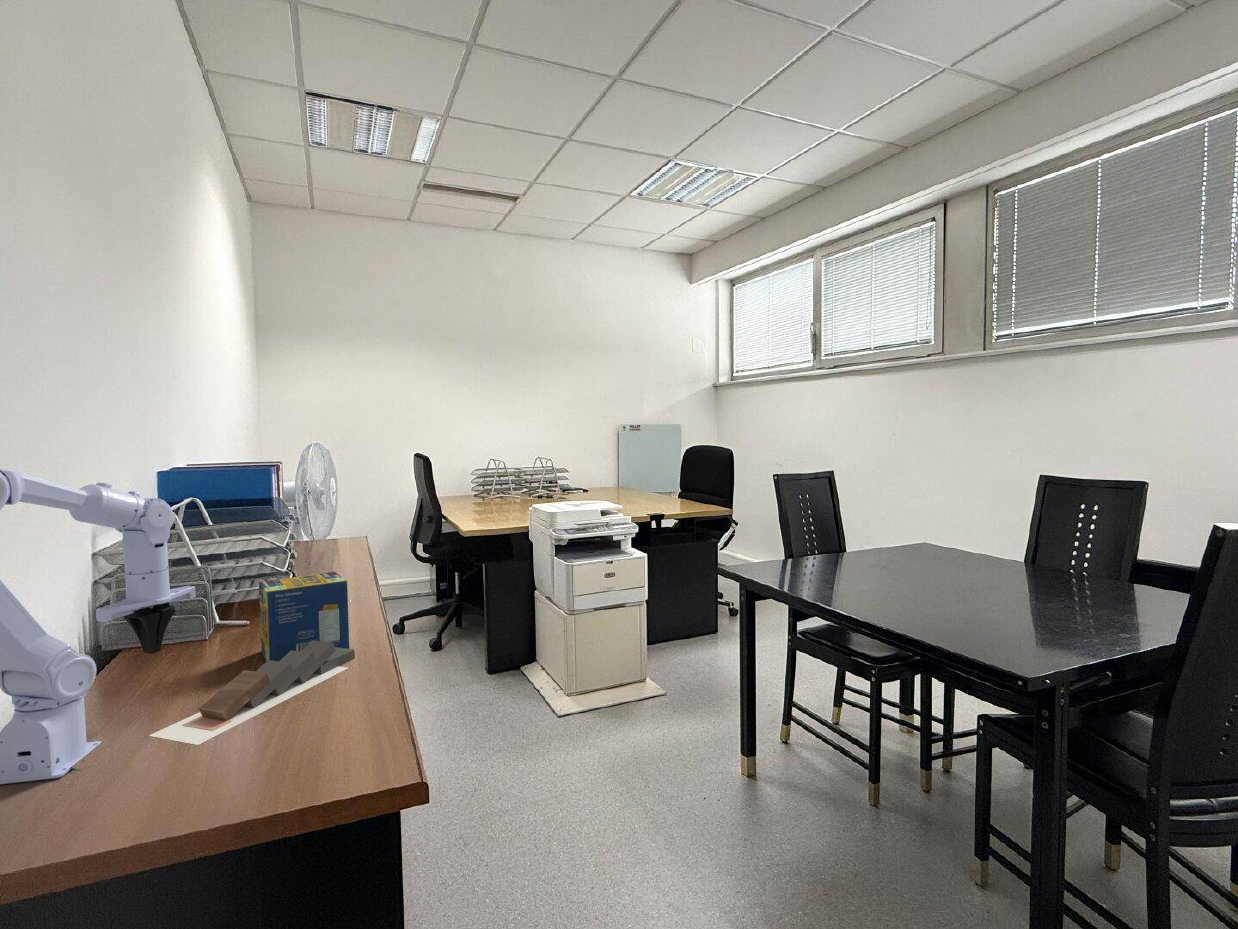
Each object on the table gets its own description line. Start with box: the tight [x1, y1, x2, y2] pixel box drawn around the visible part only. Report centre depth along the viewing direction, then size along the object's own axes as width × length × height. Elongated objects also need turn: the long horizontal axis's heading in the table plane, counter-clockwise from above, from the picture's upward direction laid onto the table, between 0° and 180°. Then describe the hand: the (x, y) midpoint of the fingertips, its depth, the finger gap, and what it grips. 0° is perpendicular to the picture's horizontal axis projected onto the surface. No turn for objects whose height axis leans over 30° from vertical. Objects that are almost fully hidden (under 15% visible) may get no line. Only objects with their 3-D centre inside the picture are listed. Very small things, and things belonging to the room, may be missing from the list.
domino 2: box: [243, 660, 294, 708], centre depth 107 cm, size 2×5×9 cm
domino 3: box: [270, 650, 315, 696], centre depth 112 cm, size 2×5×9 cm
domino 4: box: [294, 640, 336, 684], centre depth 117 cm, size 2×5×9 cm
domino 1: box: [198, 669, 270, 721], centre depth 102 cm, size 2×5×9 cm
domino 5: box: [313, 647, 356, 675], centre depth 122 cm, size 2×5×9 cm
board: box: [148, 665, 349, 746], centre depth 107 cm, size 31×10×1 cm, turn 163°
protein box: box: [258, 571, 350, 662], centre depth 130 cm, size 10×15×16 cm
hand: (151, 651), depth 102 cm, fingers closed
